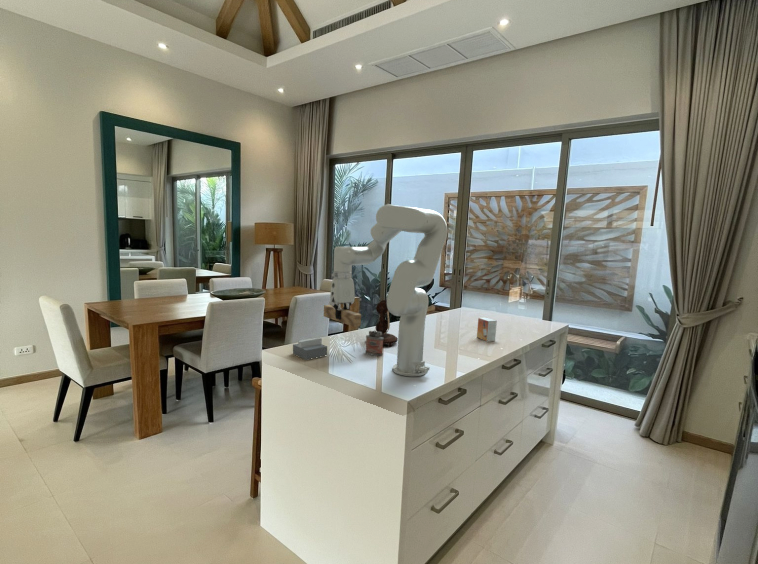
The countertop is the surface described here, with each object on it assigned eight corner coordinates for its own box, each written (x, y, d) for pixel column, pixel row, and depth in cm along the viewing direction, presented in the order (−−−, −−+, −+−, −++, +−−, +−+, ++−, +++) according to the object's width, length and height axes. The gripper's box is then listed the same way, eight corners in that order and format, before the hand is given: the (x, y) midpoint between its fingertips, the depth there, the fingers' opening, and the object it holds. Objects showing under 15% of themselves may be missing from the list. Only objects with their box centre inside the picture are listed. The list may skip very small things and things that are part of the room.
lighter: (363, 353, 168) (364, 330, 167) (367, 351, 171) (368, 328, 170) (380, 356, 164) (381, 333, 163) (384, 354, 167) (385, 331, 166)
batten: (360, 326, 162) (361, 314, 161) (354, 327, 160) (355, 315, 159) (329, 315, 178) (329, 304, 177) (323, 316, 176) (324, 305, 175)
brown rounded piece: (395, 348, 178) (397, 304, 175) (363, 345, 180) (365, 302, 178) (398, 340, 192) (401, 299, 190) (369, 337, 194) (370, 297, 192)
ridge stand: (326, 355, 162) (327, 340, 161) (306, 360, 155) (306, 344, 154) (313, 350, 169) (313, 335, 169) (292, 354, 162) (293, 338, 162)
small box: (476, 337, 205) (477, 317, 203) (485, 336, 207) (486, 317, 206) (486, 341, 197) (488, 320, 196) (495, 340, 200) (497, 320, 199)
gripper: (332, 277, 158) (331, 322, 160) (362, 275, 170) (361, 318, 171) (321, 275, 164) (320, 319, 166) (351, 274, 175) (350, 315, 177)
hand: (341, 318), depth 169 cm, fingers closed on batten, 2 cm apart
